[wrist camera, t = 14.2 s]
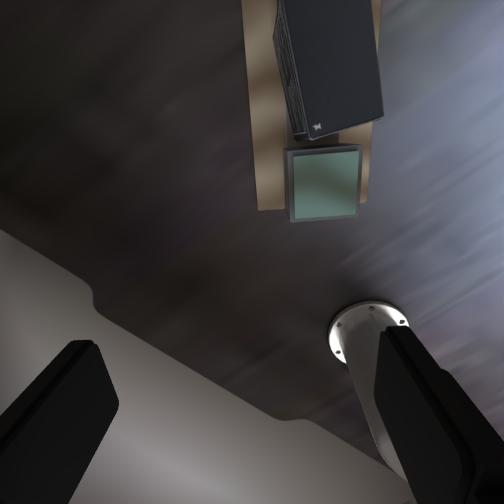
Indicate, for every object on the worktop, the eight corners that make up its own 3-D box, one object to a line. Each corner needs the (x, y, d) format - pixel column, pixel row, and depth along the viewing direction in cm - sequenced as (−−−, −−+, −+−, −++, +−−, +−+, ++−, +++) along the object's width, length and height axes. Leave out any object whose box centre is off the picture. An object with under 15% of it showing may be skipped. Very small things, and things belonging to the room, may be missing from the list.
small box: (350, 124, 31) (389, 119, 22) (294, 142, 32) (307, 144, 23) (333, 12, 27) (372, -56, 18) (270, 35, 28) (274, -16, 19)
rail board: (362, 200, 37) (395, 220, 28) (258, 208, 38) (256, 230, 29) (382, -93, 26) (445, -215, 17) (236, -72, 27) (222, -176, 18)
